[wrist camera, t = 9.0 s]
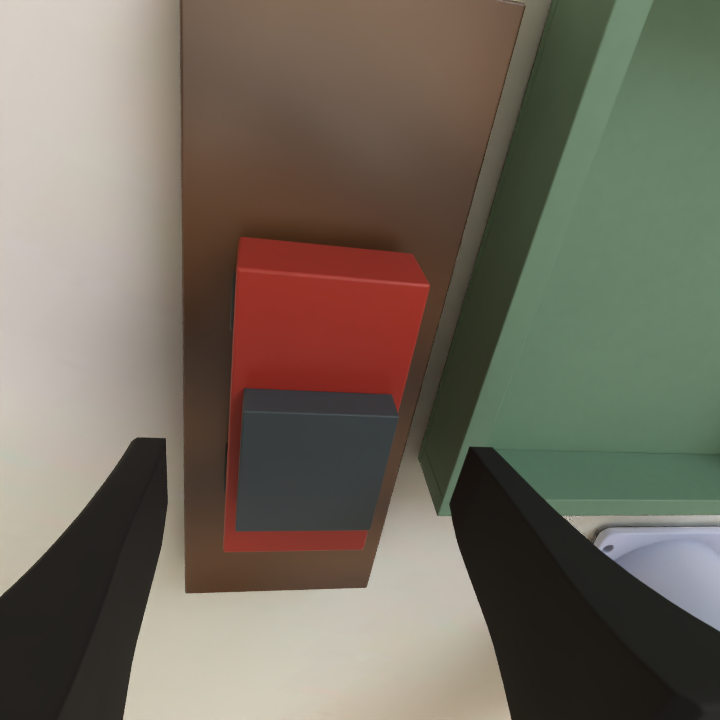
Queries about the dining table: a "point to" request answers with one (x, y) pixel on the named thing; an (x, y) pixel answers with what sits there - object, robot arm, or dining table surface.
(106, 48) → the dining table surface
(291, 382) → the toy car
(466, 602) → the dining table surface
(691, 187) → the tray
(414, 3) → the board
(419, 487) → the dining table surface
